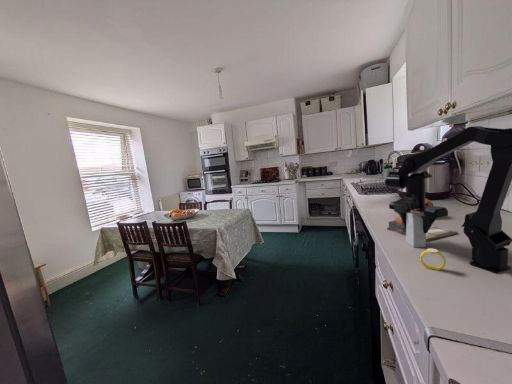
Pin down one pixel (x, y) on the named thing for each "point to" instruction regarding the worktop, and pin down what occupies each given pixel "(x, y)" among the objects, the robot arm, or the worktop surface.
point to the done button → (399, 220)
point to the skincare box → (415, 229)
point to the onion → (425, 206)
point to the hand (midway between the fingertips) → (415, 230)
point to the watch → (433, 251)
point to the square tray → (430, 235)
